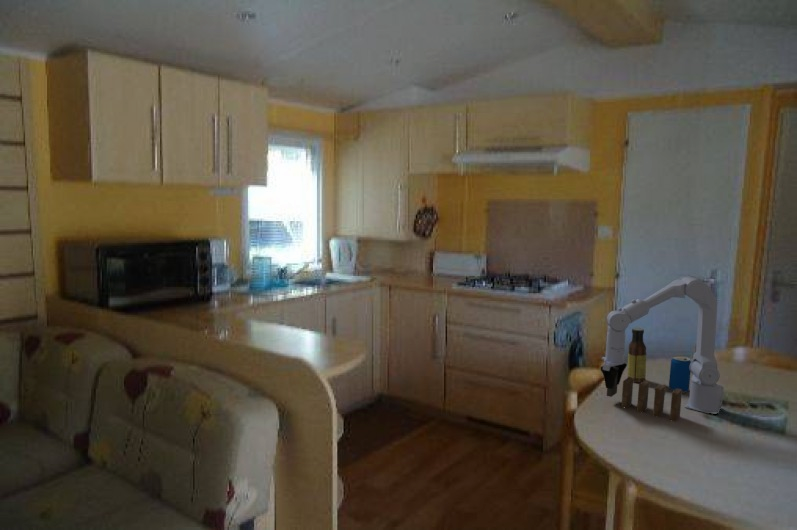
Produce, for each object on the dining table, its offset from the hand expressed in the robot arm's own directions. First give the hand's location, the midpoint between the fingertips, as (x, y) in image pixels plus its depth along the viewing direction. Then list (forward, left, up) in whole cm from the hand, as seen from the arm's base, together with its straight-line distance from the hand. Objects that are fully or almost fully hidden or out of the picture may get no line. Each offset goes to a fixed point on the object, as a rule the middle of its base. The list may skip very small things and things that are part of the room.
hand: (612, 385), depth 189 cm
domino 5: (-20, 0, -6) cm, 21 cm away
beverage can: (-14, -27, -6) cm, 31 cm away
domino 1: (0, 0, -3) cm, 3 cm away
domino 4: (-15, 0, -6) cm, 16 cm away
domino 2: (-5, 0, -6) cm, 8 cm away
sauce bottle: (+1, -27, -6) cm, 28 cm away
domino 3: (-10, 0, -6) cm, 11 cm away
